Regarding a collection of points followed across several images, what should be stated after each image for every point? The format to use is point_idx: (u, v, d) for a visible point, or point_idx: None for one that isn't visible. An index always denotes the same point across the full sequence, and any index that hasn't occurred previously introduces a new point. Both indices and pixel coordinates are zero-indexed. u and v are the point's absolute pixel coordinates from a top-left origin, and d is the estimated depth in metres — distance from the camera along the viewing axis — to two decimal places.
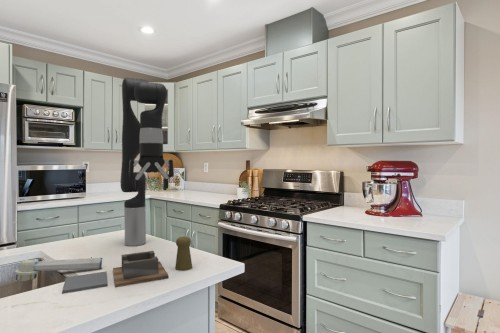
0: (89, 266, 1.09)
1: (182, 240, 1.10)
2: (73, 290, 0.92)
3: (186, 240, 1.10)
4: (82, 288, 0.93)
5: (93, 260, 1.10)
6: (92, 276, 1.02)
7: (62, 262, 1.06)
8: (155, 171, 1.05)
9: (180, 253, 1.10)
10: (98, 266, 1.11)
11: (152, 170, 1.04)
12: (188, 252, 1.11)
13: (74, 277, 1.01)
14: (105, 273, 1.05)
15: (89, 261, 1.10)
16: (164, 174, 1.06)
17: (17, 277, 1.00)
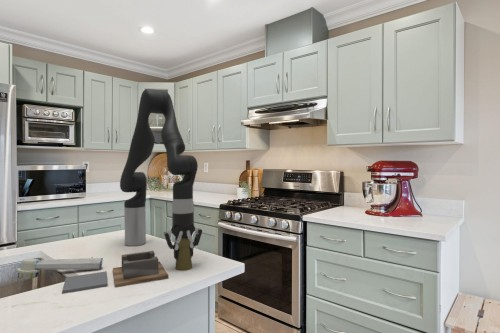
0: (89, 266, 1.09)
1: (182, 240, 1.10)
2: (73, 290, 0.92)
3: (186, 240, 1.10)
4: (82, 288, 0.93)
5: (93, 260, 1.10)
6: (92, 276, 1.02)
7: (62, 261, 1.07)
8: None
9: (180, 252, 1.10)
10: (98, 266, 1.10)
11: (184, 237, 1.11)
12: (188, 252, 1.11)
13: (74, 277, 1.01)
14: (105, 273, 1.05)
15: (89, 261, 1.09)
16: (191, 243, 1.12)
17: (19, 275, 1.02)
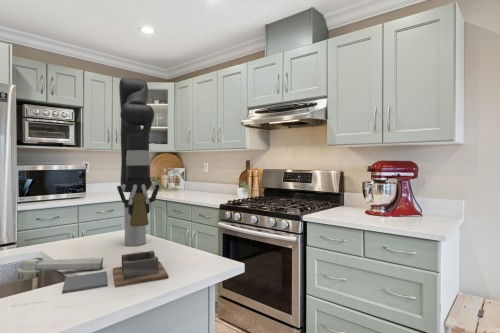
0: (90, 266, 1.09)
1: (136, 194, 1.03)
2: (73, 290, 0.92)
3: (141, 194, 1.03)
4: (82, 288, 0.93)
5: (94, 260, 1.10)
6: (92, 276, 1.02)
7: (63, 262, 1.07)
8: None
9: (134, 208, 1.03)
10: (99, 266, 1.10)
11: None
12: (143, 207, 1.04)
13: (74, 277, 1.01)
14: (105, 273, 1.05)
15: (90, 261, 1.10)
16: (146, 198, 1.05)
17: (19, 276, 1.01)
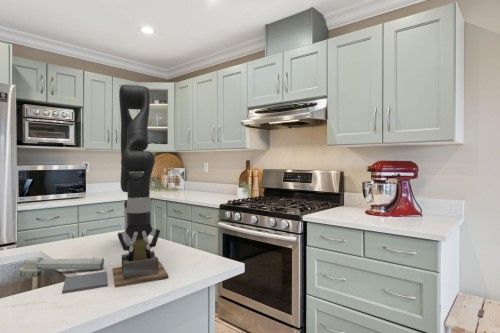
0: (90, 266, 1.09)
1: (137, 241, 1.03)
2: (73, 290, 0.92)
3: (141, 241, 1.04)
4: (82, 288, 0.93)
5: (94, 260, 1.10)
6: (92, 276, 1.02)
7: (64, 261, 1.07)
8: None
9: (135, 254, 1.04)
10: (99, 267, 1.10)
11: (139, 238, 1.05)
12: (144, 254, 1.05)
13: (74, 277, 1.01)
14: (105, 273, 1.05)
15: (90, 261, 1.09)
16: (147, 244, 1.06)
17: (21, 274, 1.03)
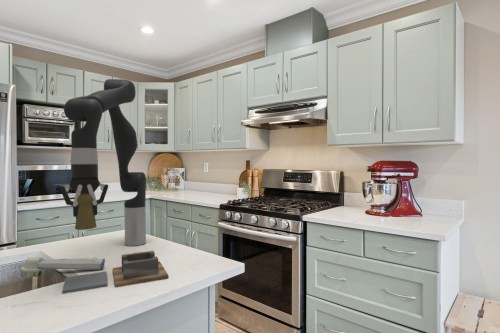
0: (90, 266, 1.09)
1: (81, 195, 0.96)
2: (73, 290, 0.92)
3: (86, 195, 0.96)
4: (82, 288, 0.93)
5: (95, 260, 1.10)
6: (92, 276, 1.02)
7: (65, 261, 1.07)
8: None
9: (79, 209, 0.96)
10: (99, 267, 1.10)
11: None
12: (90, 209, 0.97)
13: (74, 277, 1.01)
14: (105, 273, 1.05)
15: (91, 261, 1.09)
16: None
17: (22, 274, 1.03)
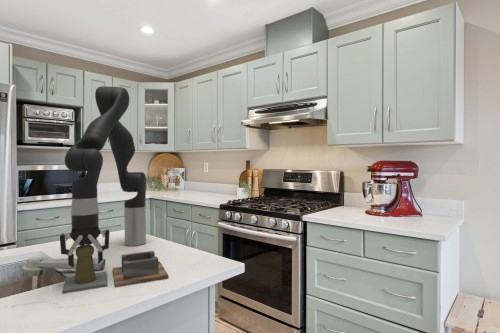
0: None
1: (81, 249, 0.96)
2: (73, 290, 0.92)
3: (86, 249, 0.97)
4: (82, 288, 0.93)
5: (95, 261, 1.10)
6: None
7: (65, 261, 1.07)
8: (89, 243, 0.98)
9: (78, 263, 0.96)
10: (100, 267, 1.09)
11: (85, 242, 0.98)
12: (89, 263, 0.98)
13: (74, 277, 1.01)
14: (105, 273, 1.05)
15: None
16: (98, 246, 0.99)
17: (24, 273, 1.04)
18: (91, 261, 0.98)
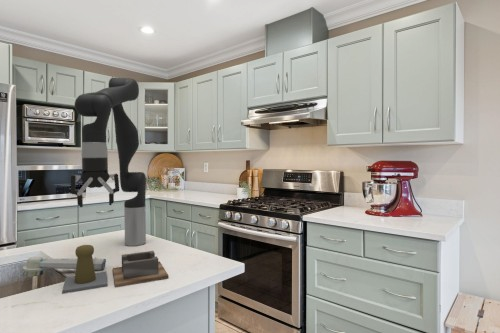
0: None
1: (81, 249, 0.96)
2: (73, 290, 0.92)
3: (85, 249, 0.97)
4: (82, 288, 0.93)
5: (96, 261, 1.10)
6: None
7: (66, 261, 1.07)
8: (99, 186, 1.02)
9: (78, 263, 0.96)
10: (100, 267, 1.10)
11: (95, 185, 1.02)
12: (89, 263, 0.98)
13: (74, 277, 1.01)
14: (105, 273, 1.05)
15: None
16: (109, 189, 1.03)
17: (24, 273, 1.04)
18: (91, 261, 0.98)
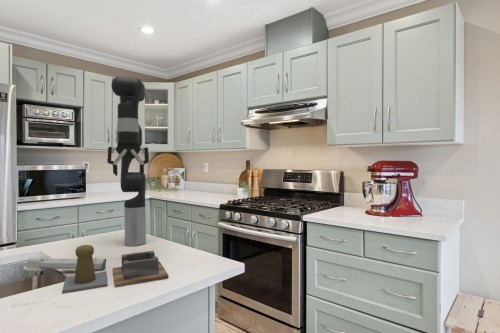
0: None
1: (81, 249, 0.96)
2: (73, 290, 0.92)
3: (85, 249, 0.97)
4: (82, 288, 0.93)
5: (96, 261, 1.10)
6: None
7: (66, 261, 1.07)
8: (131, 157, 1.15)
9: (78, 263, 0.96)
10: (100, 267, 1.09)
11: (129, 156, 1.15)
12: (89, 263, 0.98)
13: (74, 277, 1.01)
14: (105, 273, 1.05)
15: None
16: (140, 160, 1.17)
17: (24, 273, 1.04)
18: (91, 261, 0.98)
